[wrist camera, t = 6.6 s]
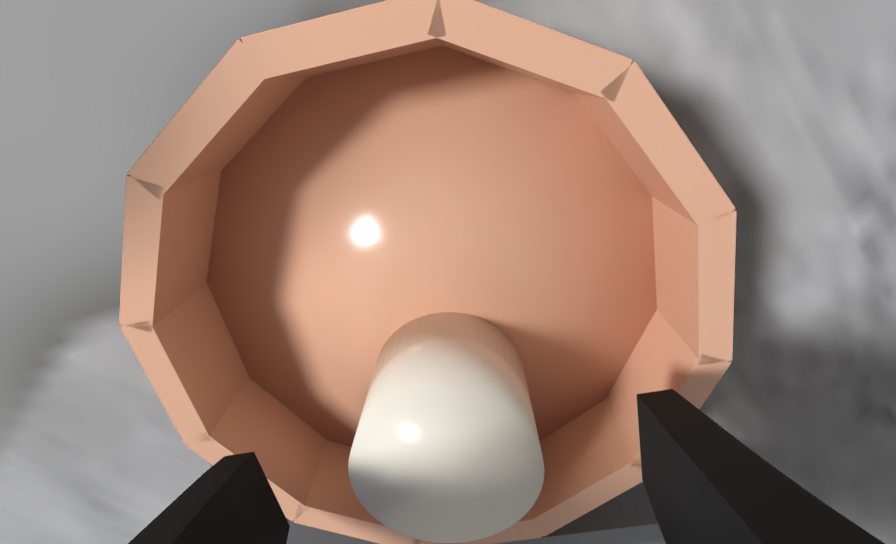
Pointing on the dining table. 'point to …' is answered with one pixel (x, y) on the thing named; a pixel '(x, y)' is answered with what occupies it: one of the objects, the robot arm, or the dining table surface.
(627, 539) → the parts tray
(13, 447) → the dining table surface
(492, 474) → the cream pebble
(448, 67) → the terracotta bowl
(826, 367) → the dining table surface
